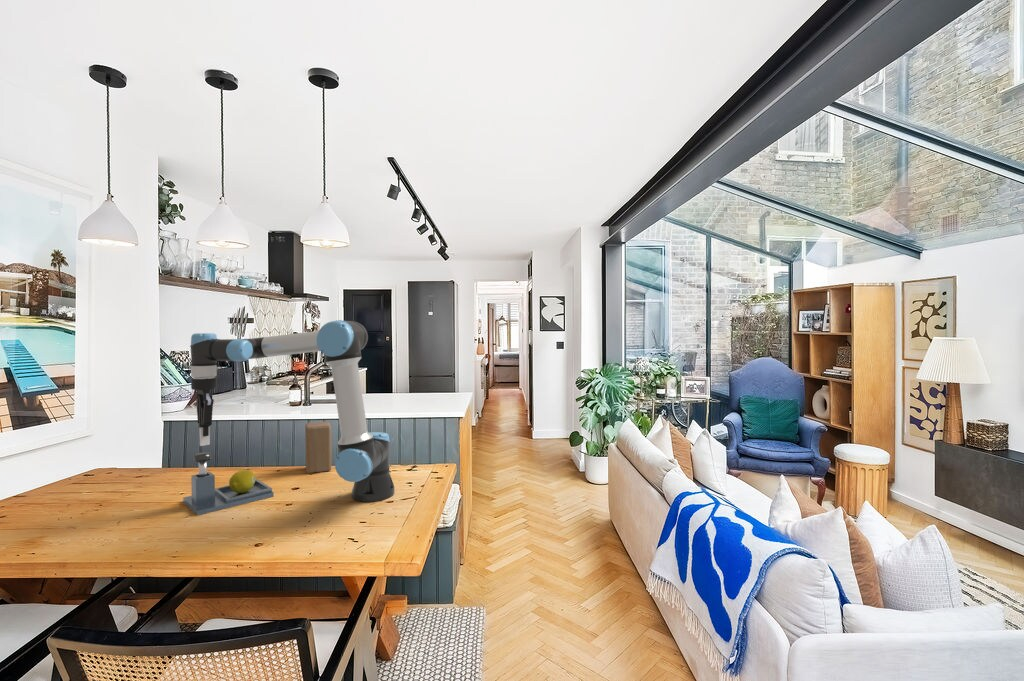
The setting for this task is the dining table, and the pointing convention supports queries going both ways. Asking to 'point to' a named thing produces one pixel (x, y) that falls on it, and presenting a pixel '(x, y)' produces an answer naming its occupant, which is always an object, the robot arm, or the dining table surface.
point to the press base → (221, 495)
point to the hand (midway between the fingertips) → (204, 444)
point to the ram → (202, 462)
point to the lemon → (242, 481)
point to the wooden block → (318, 447)
